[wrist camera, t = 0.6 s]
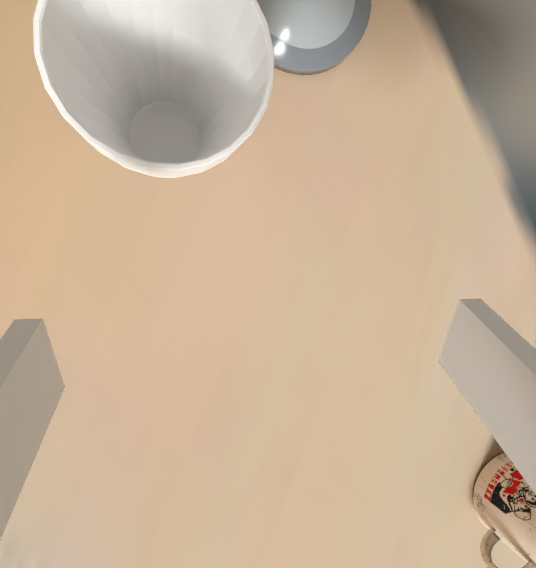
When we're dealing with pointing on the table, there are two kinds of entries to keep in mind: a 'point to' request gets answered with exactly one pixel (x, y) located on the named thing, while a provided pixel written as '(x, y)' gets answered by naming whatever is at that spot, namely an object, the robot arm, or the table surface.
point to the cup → (157, 77)
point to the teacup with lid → (506, 510)
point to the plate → (314, 32)
